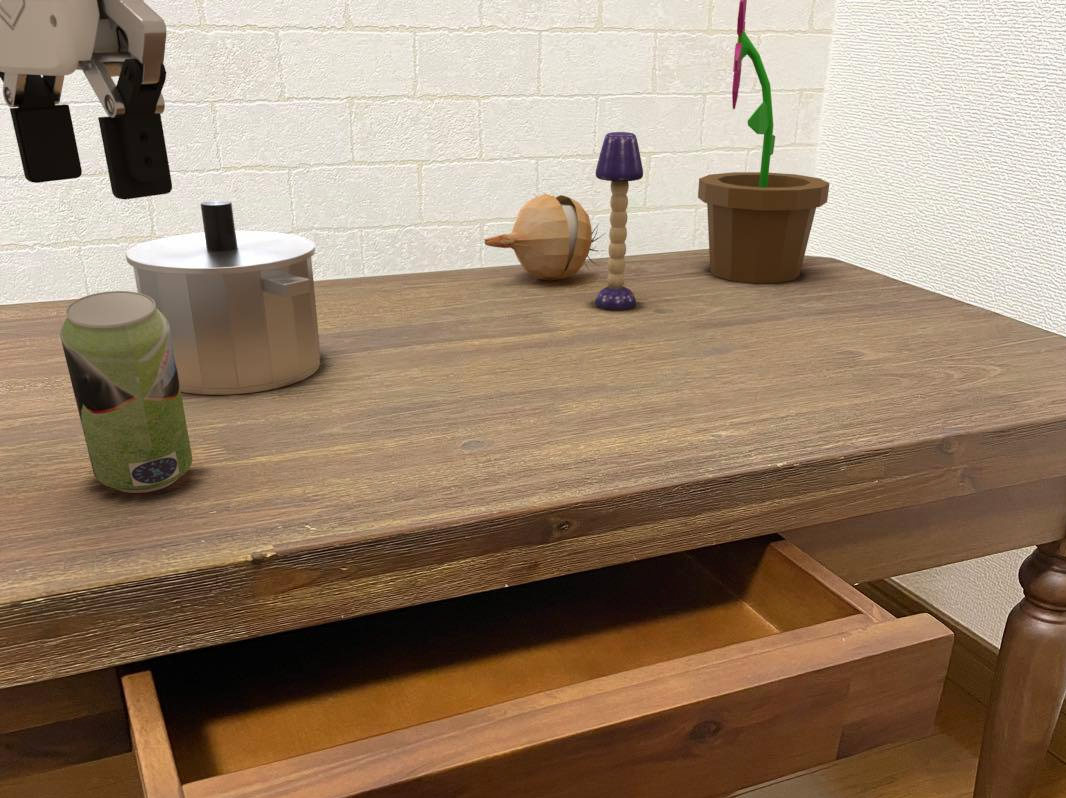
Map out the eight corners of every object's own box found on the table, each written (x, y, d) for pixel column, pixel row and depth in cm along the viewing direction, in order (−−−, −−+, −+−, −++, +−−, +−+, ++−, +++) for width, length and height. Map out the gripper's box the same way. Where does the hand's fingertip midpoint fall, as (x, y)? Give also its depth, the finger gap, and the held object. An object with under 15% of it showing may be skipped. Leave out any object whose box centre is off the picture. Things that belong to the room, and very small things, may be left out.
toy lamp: (642, 310, 105) (651, 135, 98) (598, 313, 105) (603, 136, 97) (629, 299, 110) (636, 130, 102) (586, 301, 109) (590, 130, 101)
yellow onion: (631, 204, 114) (512, 177, 107) (617, 290, 116) (499, 270, 108) (586, 206, 122) (472, 181, 114) (574, 286, 124) (461, 267, 116)
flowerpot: (696, 257, 128) (716, -18, 115) (815, 263, 126) (850, -18, 112) (688, 283, 116) (709, -22, 102) (820, 290, 113) (860, -22, 100)
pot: (235, 415, 78) (218, 288, 73) (105, 364, 89) (83, 250, 84) (373, 373, 87) (365, 257, 83) (240, 331, 98) (227, 227, 94)
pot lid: (195, 292, 75) (186, 227, 73) (92, 263, 83) (81, 203, 81) (353, 260, 84) (348, 201, 82) (246, 237, 93) (240, 183, 91)
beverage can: (187, 456, 71) (158, 278, 65) (205, 497, 65) (176, 305, 59) (88, 471, 68) (49, 288, 63) (98, 515, 62) (56, 317, 57)
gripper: (-127, -170, 53) (-38, 181, 61) (33, -217, 43) (114, 213, 51) (19, -156, 58) (83, 167, 66) (193, -194, 48) (245, 194, 56)
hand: (97, 187), depth 58 cm, fingers open, 9 cm apart
